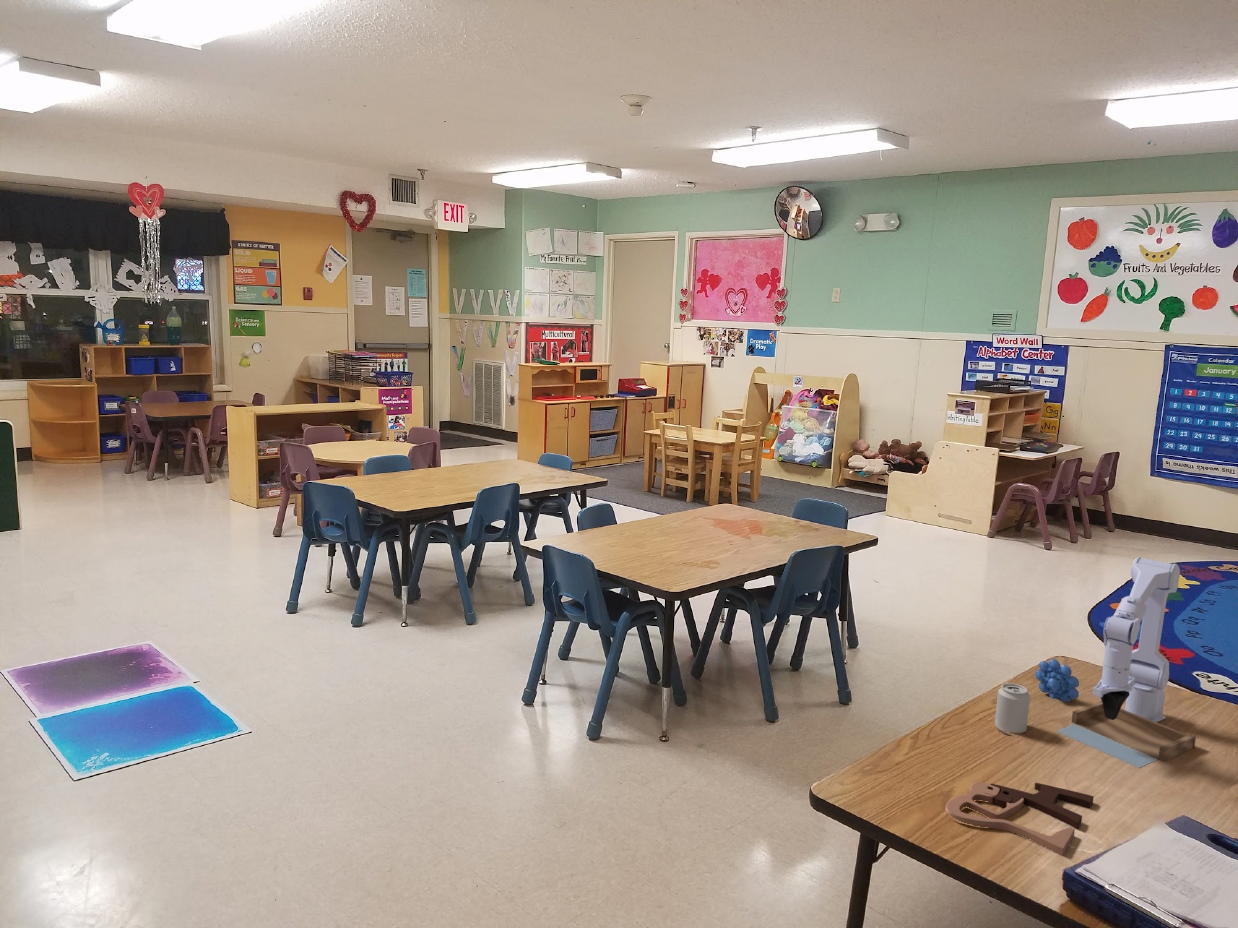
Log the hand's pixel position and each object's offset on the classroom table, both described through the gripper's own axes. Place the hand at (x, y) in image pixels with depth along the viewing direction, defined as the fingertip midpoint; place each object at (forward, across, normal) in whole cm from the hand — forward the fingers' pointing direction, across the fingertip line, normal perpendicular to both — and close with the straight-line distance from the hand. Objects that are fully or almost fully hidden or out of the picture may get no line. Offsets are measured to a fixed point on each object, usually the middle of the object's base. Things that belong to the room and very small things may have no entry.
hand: (1110, 717), depth 220 cm
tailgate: (+7, +3, 0) cm, 8 cm away
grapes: (+9, +13, +23) cm, 28 cm away
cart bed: (+8, +10, 0) cm, 13 cm away
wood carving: (+9, -44, -6) cm, 45 cm away
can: (+9, -13, +18) cm, 24 cm away
